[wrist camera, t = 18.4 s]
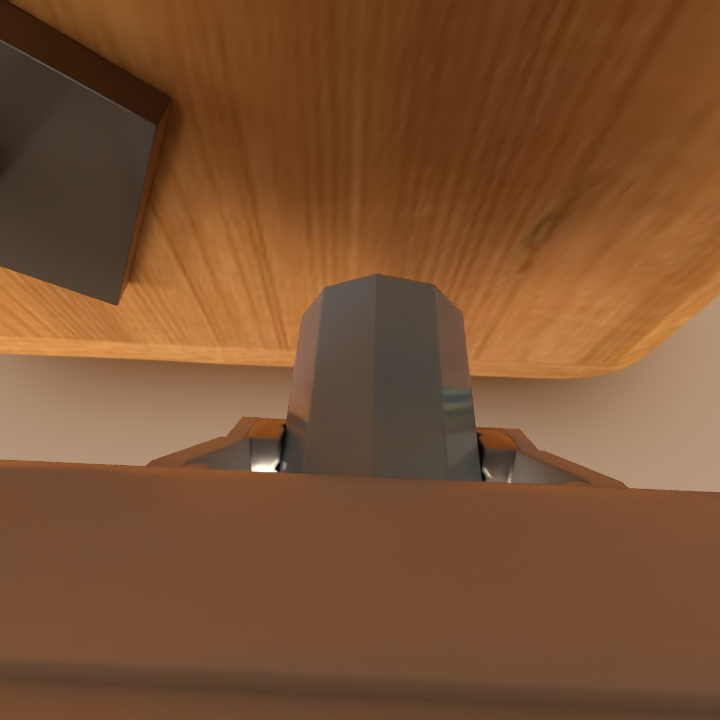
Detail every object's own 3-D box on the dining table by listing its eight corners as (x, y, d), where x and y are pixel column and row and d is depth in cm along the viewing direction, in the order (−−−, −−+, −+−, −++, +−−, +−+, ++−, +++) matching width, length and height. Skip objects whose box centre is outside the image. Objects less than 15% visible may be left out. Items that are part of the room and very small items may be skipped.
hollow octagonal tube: (394, 244, 11) (396, 522, 7) (489, 338, 14) (523, 554, 11) (270, 319, 14) (227, 538, 10) (373, 380, 17) (368, 558, 14)
